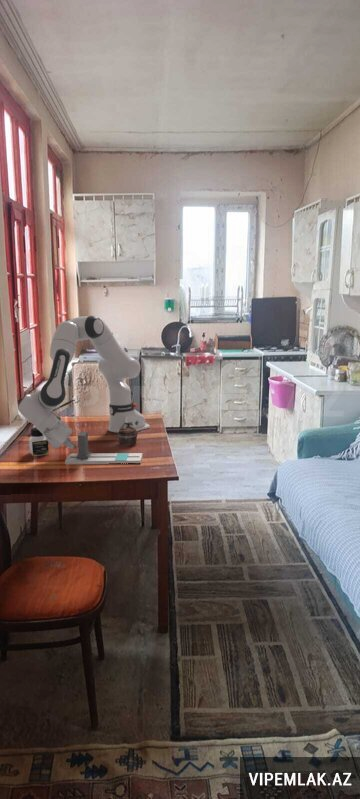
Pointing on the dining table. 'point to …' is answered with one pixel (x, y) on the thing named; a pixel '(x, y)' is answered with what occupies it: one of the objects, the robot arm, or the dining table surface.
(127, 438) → the cupcake
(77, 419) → the dining table surface
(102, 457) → the console track
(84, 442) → the fader cap
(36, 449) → the medicine bottle
